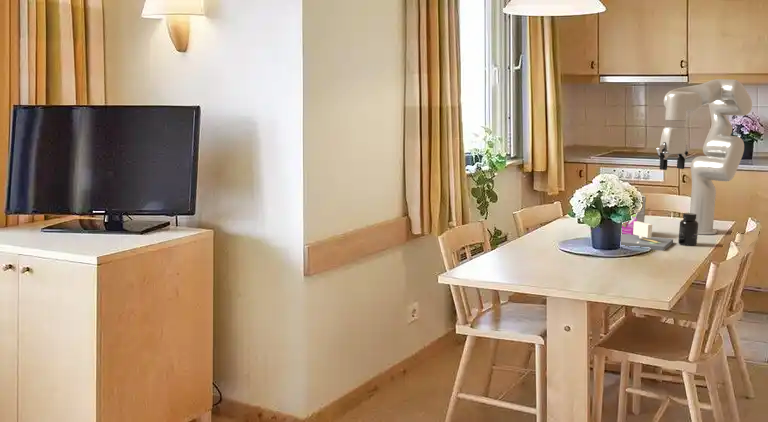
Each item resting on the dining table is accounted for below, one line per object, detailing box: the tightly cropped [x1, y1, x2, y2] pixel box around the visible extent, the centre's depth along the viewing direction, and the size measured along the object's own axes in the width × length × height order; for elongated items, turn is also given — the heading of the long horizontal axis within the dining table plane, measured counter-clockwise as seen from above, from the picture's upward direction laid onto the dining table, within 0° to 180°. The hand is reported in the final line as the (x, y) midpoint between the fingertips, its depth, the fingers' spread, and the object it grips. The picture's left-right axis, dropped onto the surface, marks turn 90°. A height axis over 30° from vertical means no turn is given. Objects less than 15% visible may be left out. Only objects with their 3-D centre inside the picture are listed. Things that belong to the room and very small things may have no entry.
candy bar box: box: [622, 195, 647, 235], centre depth 362 cm, size 11×5×16 cm, turn 34°
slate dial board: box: [621, 234, 674, 251], centre depth 344 cm, size 18×20×2 cm
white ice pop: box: [633, 221, 658, 243], centre depth 341 cm, size 12×2×6 cm, turn 26°
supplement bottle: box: [678, 212, 699, 247], centre depth 344 cm, size 7×7×12 cm
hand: (671, 169), depth 346 cm, fingers open, 9 cm apart
